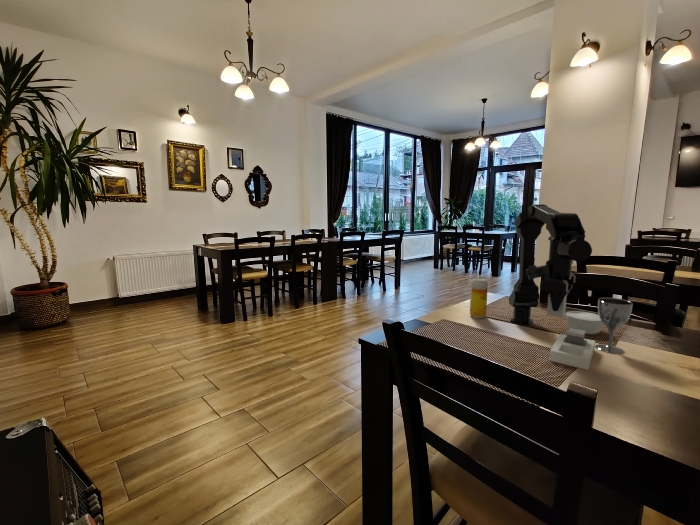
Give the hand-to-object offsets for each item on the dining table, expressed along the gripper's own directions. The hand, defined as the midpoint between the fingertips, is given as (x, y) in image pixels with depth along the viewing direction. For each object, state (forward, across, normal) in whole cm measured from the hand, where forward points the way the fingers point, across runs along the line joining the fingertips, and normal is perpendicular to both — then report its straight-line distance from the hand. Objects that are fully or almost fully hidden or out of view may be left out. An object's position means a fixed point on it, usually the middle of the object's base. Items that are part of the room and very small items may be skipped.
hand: (556, 309), depth 99 cm
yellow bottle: (+12, -18, -29) cm, 37 cm away
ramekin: (+12, -26, +5) cm, 30 cm away
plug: (+2, 0, 0) cm, 2 cm away
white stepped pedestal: (+13, 0, +5) cm, 14 cm away
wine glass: (+13, -12, +13) cm, 21 cm away
